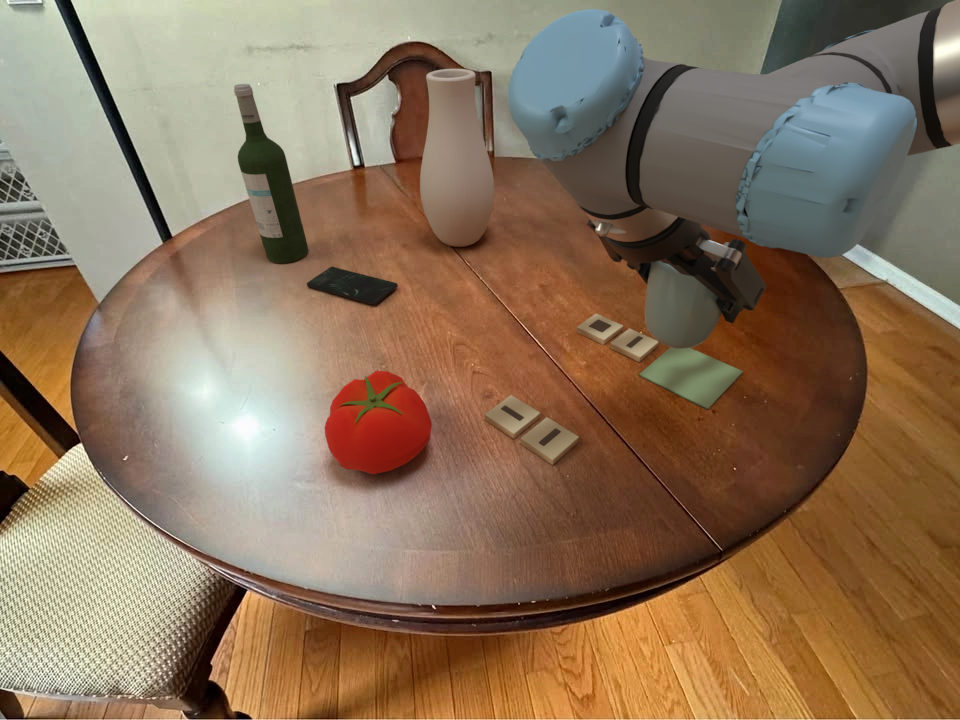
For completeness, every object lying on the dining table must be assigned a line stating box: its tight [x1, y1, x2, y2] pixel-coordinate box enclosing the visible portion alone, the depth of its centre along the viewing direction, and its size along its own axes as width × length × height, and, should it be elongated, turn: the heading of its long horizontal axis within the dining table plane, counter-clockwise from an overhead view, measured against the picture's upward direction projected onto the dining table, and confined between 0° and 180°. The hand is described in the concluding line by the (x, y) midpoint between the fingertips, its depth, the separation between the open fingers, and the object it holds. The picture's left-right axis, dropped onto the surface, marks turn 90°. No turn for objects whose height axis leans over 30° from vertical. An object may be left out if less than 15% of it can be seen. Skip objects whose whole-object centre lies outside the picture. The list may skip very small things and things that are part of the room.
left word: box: [483, 394, 580, 466], centre depth 68 cm, size 11×5×1 cm, turn 45°
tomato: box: [324, 370, 433, 475], centre depth 64 cm, size 13×12×8 cm
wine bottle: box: [233, 83, 309, 265], centre depth 98 cm, size 8×8×30 cm
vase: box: [419, 68, 495, 248], centre depth 100 cm, size 14×14×30 cm
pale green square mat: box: [575, 313, 744, 411], centre depth 79 cm, size 22×10×1 cm, turn 45°
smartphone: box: [306, 266, 399, 306], centre depth 96 cm, size 7×1×15 cm
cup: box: [643, 261, 723, 349], centre depth 58 cm, size 8×8×10 cm
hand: (697, 296), depth 61 cm, fingers closed on cup, 8 cm apart
